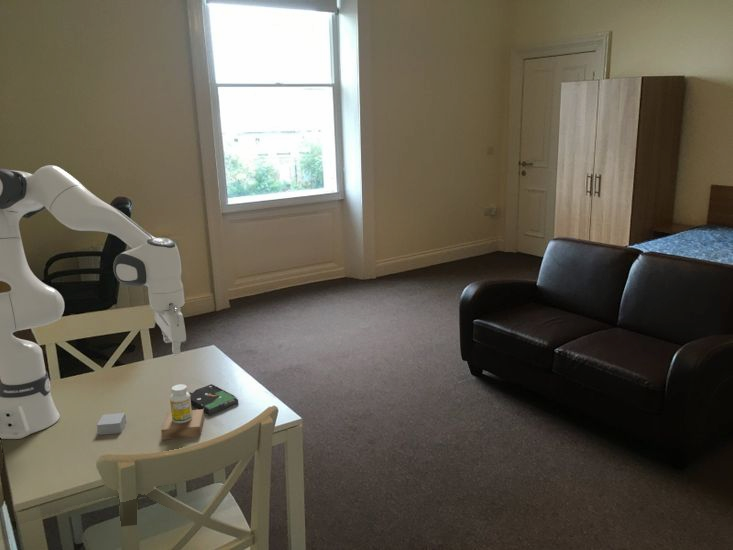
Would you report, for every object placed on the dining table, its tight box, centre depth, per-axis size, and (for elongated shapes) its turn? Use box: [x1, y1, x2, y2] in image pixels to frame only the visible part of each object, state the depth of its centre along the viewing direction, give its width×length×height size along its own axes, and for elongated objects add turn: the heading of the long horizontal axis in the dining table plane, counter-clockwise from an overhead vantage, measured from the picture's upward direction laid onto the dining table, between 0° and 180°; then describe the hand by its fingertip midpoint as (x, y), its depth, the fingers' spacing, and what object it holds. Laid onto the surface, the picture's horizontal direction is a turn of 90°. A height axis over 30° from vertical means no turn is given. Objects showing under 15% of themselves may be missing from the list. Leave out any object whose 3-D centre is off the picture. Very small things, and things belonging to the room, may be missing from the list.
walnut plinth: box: [161, 409, 205, 441], centre depth 168 cm, size 10×10×3 cm
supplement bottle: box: [169, 383, 193, 423], centre depth 166 cm, size 5×5×10 cm
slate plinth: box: [96, 412, 127, 436], centre depth 169 cm, size 6×6×3 cm
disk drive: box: [188, 383, 239, 417], centre depth 183 cm, size 10×3×15 cm
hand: (171, 347), depth 164 cm, fingers open, 8 cm apart
